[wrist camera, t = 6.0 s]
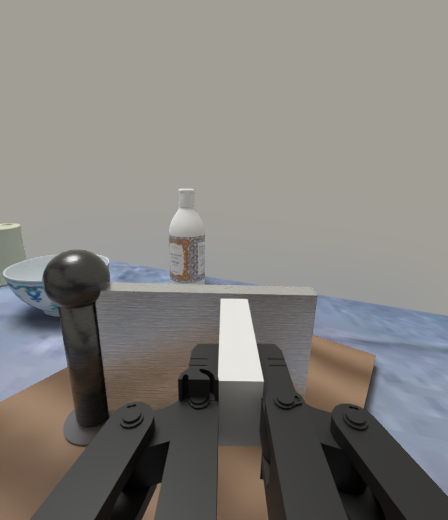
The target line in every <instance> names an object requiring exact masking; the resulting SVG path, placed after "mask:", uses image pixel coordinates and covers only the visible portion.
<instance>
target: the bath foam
mask: <svg viewBox="0 0 448 520" xmlns="http://www.w3.org/2000/svg"><path fill="white" fill-rule="evenodd" d="M178 192H179V209H178V211H177V212H176V214H175V216H174V217H173V220H172V221H171V224H170V228H169V253H170V280H171V284H198V285H205V232H204V226H203V223H202V221H201V219H200V217H199V215H198V214H197V212H196V211H195V209H194V189H179V191H178Z"/></svg>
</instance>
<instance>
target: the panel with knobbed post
mask: <svg viewBox="0 0 448 520" xmlns="http://www.w3.org/2000/svg"><path fill="white" fill-rule="evenodd" d="M42 286H43V290H44V292H45V294H46V295H47V297H48V298H49V299H50V300H51V301H52V302H53V303H54V304H56V305H58V310H59V316H60V322H61V328H62V335H63V341H64V347H65V353H66V359H67V365H68V372H69V378H70V384H71V390H72V396H73V402H74V409H75V415H76V421H77V423H78V424H79V425H80V426H82V427H87V428H89V427H95V426H98V425H100V424H102V423H104V422H105V421H107V420H108V419H109V418H110V417H111V415H112V414H113V413H114V412H115V411H116V410H117V409H118V408H120V407H122V406H124V405H125V404H128V403H132V402H144V403H146V404H149V405H150V406H151V407H152V409H153V411H154V410H158V409H162V408H165V407H168V406H170V405H172V404H174V403H175V402H177V401H178V400H179V397H178V378H179V376H180V374H181V373H182V372H184V371H185V370H187V369H188V367H189V362H190V357H191V351H192V349H193V348H194V347H195V346H196V345H197V344H219V332H220V303H221V299H248V304H249V309H250V314H251V319H252V324H253V329H254V334H255V339H256V344H276V345H277V346H278V347H279V348H280V349H281V350H282V353H283V355H284V358H285V361H286V364H287V367H288V370H289V373H290V376H291V379H292V382H293V385H294V388H295V391H296V392H297V393H299V394H300V395H301V396H302V397H303V399H304V398H305V390H306V382H307V375H308V367H309V359H310V351H311V344H312V336H313V328H314V320H315V313H316V305H317V297H318V295H317V294H316V293H315V291H314V290H313V289H312V288H311V287H287V286H242V285H198V284H153V283H110V273H109V270H108V267H107V265H106V264H105V262H104V261H103V260H102V259H101V258H100V257H99V256H97V255H96V254H94V253H91V252H89V251H85V250H70V251H66V252H63V253H61V254H58V255H57V256H55V257H54V258H53V259H52V260H51V261H50V262H49V263H48V264H47V266H46V267H45V270H44V272H43V276H42Z"/></svg>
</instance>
